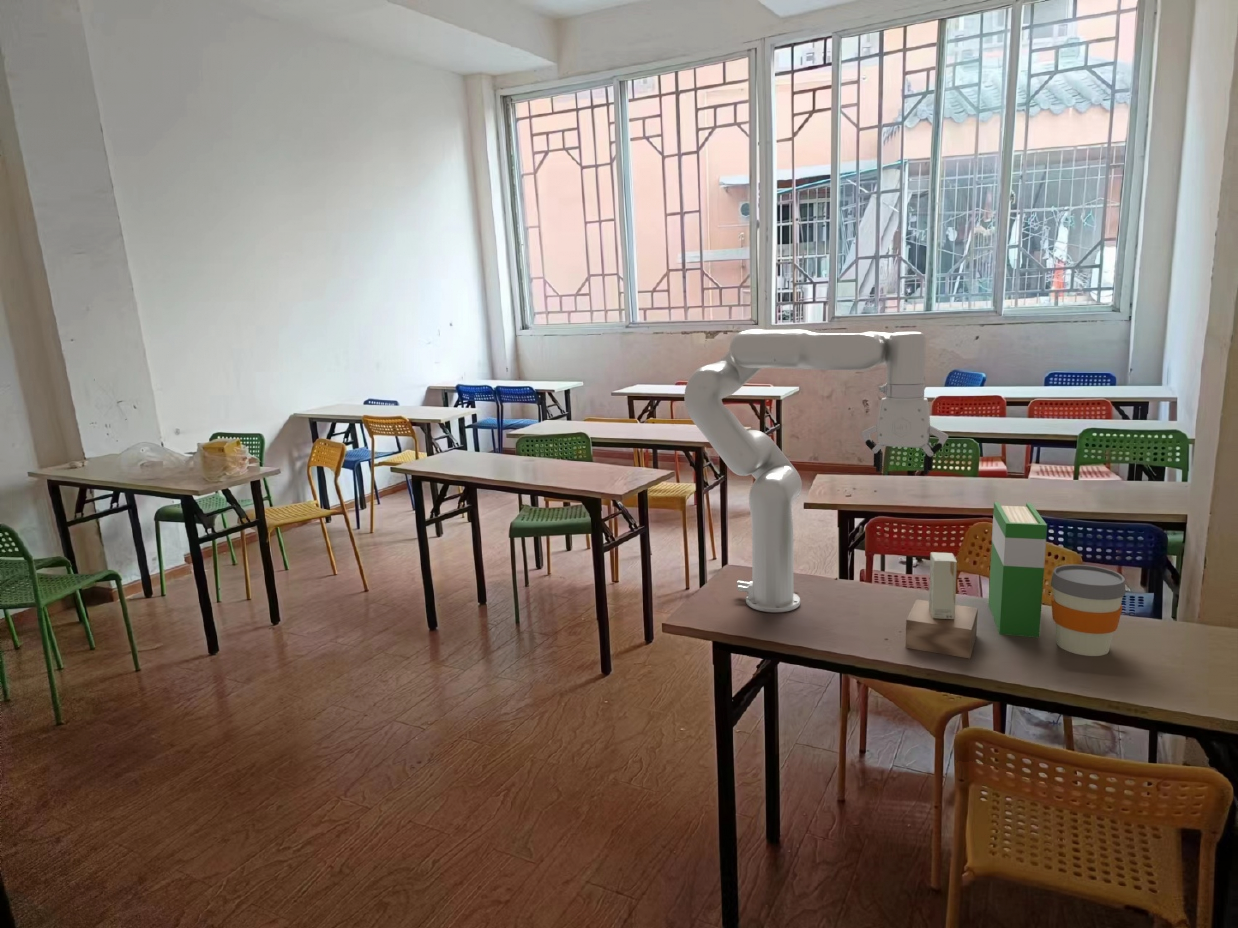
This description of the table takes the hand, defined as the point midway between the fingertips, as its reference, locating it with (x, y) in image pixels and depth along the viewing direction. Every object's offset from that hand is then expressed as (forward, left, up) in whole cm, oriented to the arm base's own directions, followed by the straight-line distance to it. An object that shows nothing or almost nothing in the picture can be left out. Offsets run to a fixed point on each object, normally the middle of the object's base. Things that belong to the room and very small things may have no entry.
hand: (902, 472), depth 163 cm
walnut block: (+10, -8, -33) cm, 36 cm away
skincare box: (+10, -8, -28) cm, 30 cm away
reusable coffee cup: (+35, +1, -34) cm, 48 cm away
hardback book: (+22, +10, -34) cm, 41 cm away
